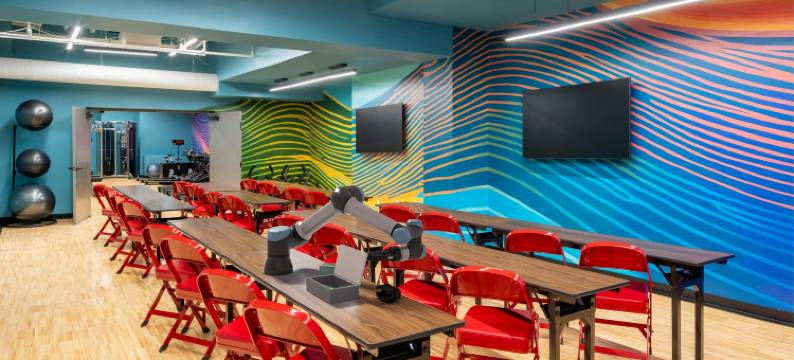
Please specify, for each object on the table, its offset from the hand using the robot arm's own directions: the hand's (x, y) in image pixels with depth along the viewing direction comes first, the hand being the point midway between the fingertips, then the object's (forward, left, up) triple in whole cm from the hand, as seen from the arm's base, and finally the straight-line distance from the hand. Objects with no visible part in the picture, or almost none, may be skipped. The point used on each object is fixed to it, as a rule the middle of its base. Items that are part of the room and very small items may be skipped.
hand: (355, 258), depth 227 cm
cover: (-2, -2, -2) cm, 3 cm away
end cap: (+18, +6, -16) cm, 25 cm away
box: (-25, +2, -16) cm, 30 cm away
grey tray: (-2, -11, -15) cm, 19 cm away
